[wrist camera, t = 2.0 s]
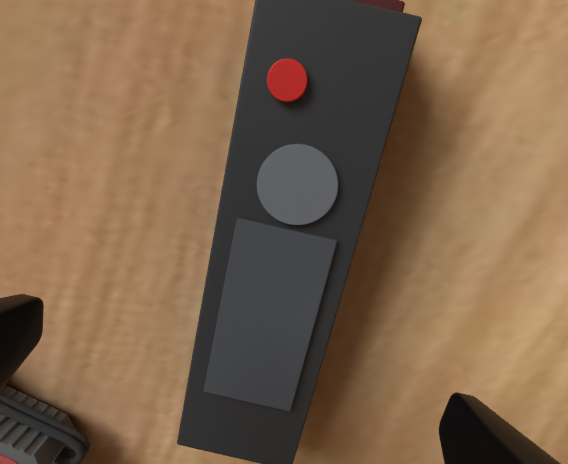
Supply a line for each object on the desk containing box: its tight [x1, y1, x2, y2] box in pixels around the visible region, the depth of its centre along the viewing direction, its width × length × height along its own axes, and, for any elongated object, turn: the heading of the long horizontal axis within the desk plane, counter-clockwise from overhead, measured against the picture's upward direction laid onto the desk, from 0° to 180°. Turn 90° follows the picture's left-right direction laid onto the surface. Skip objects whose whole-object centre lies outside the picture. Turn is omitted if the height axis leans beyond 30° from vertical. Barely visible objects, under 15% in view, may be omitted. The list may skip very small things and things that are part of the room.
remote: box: [177, 0, 422, 464], centre depth 15 cm, size 18×5×3 cm, turn 167°
